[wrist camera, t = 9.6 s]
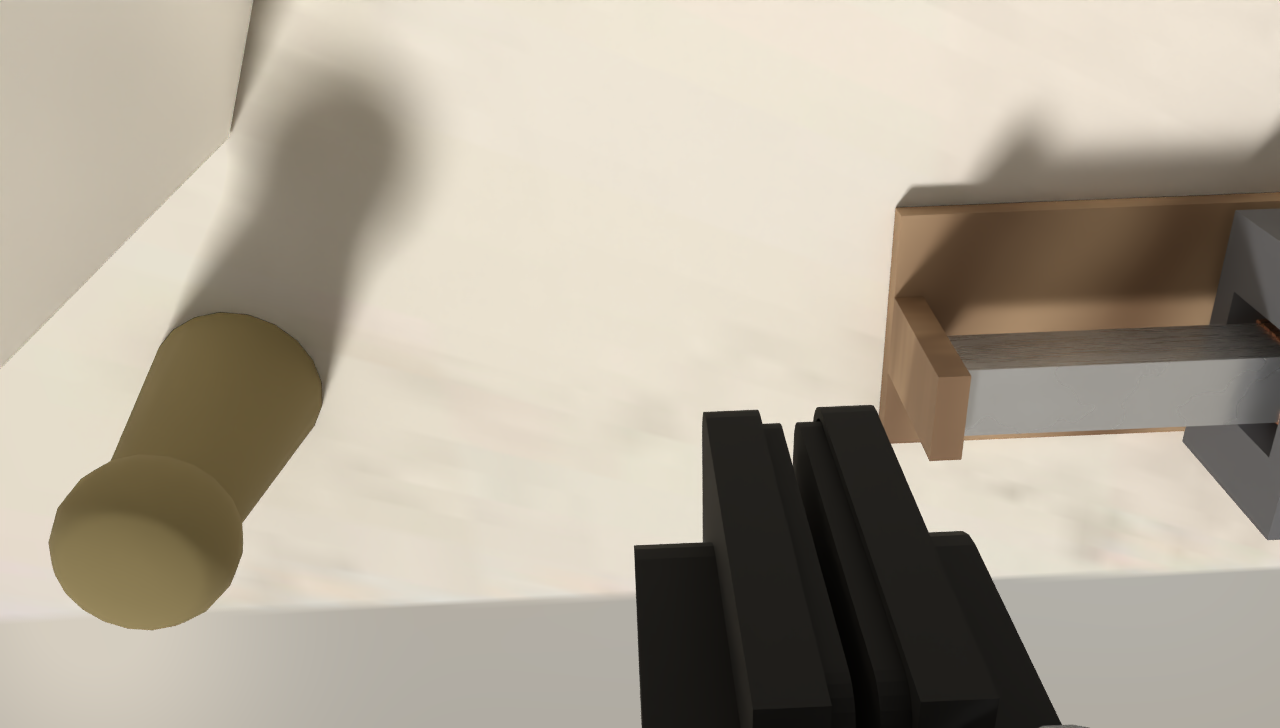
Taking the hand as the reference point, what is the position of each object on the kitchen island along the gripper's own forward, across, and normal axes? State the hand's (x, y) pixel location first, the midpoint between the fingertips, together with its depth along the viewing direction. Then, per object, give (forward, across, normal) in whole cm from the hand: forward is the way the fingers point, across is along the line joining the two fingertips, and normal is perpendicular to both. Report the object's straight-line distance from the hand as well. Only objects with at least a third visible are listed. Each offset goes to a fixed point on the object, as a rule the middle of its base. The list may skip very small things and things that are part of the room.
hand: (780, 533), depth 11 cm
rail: (+24, -17, +11) cm, 31 cm away
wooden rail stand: (+27, -17, +11) cm, 34 cm away
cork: (+27, +16, +13) cm, 34 cm away
